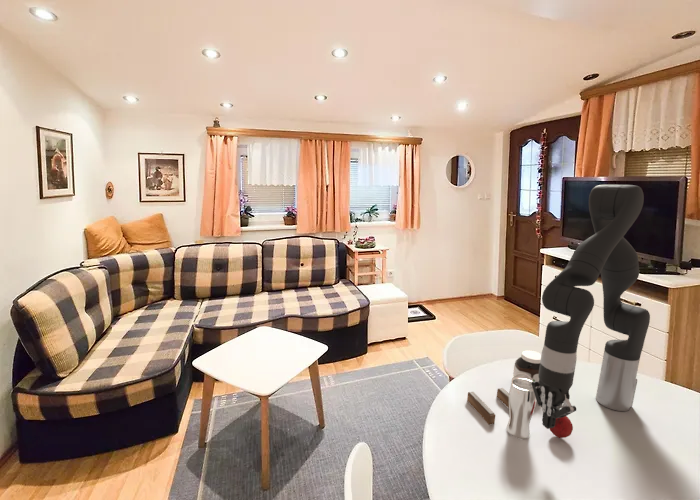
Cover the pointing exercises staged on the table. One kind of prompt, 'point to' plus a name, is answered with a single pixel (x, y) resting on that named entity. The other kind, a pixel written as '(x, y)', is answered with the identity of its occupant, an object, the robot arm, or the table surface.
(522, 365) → the spread jar
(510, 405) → the beer glass
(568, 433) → the onion
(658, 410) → the table surface
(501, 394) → the cradle
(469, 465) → the table surface
